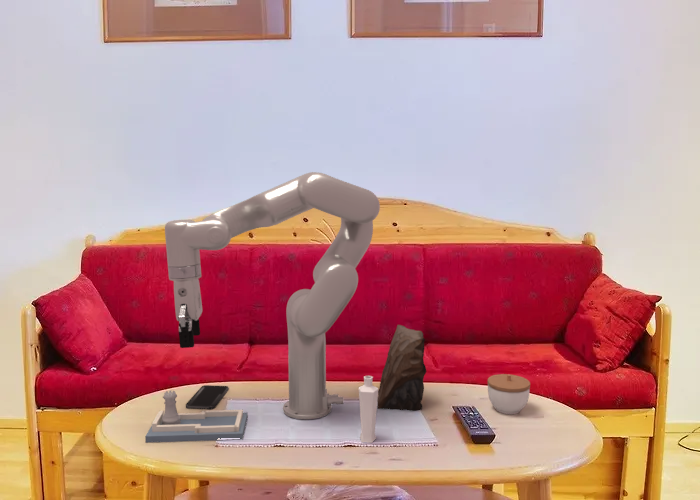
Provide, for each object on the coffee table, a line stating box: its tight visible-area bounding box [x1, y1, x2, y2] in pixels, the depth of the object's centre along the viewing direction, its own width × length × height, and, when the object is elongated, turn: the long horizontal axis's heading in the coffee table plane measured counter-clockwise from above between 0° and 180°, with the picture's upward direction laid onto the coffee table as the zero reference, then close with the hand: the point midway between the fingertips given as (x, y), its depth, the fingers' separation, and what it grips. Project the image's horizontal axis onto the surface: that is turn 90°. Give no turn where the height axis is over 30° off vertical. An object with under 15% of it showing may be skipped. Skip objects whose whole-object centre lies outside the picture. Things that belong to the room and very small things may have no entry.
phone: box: [185, 384, 229, 411], centre depth 165 cm, size 8×1×15 cm
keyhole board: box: [144, 409, 249, 443], centre depth 145 cm, size 22×12×4 cm, turn 94°
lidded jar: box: [487, 373, 531, 415], centre depth 157 cm, size 11×11×9 cm
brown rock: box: [377, 324, 427, 412], centre depth 160 cm, size 13×13×20 cm
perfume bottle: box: [358, 375, 379, 444], centre depth 139 cm, size 5×4×15 cm
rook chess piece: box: [162, 390, 181, 425], centre depth 144 cm, size 4×4×8 cm
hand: (190, 341), depth 147 cm, fingers open, 9 cm apart
